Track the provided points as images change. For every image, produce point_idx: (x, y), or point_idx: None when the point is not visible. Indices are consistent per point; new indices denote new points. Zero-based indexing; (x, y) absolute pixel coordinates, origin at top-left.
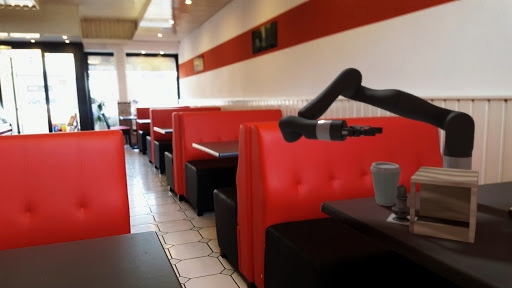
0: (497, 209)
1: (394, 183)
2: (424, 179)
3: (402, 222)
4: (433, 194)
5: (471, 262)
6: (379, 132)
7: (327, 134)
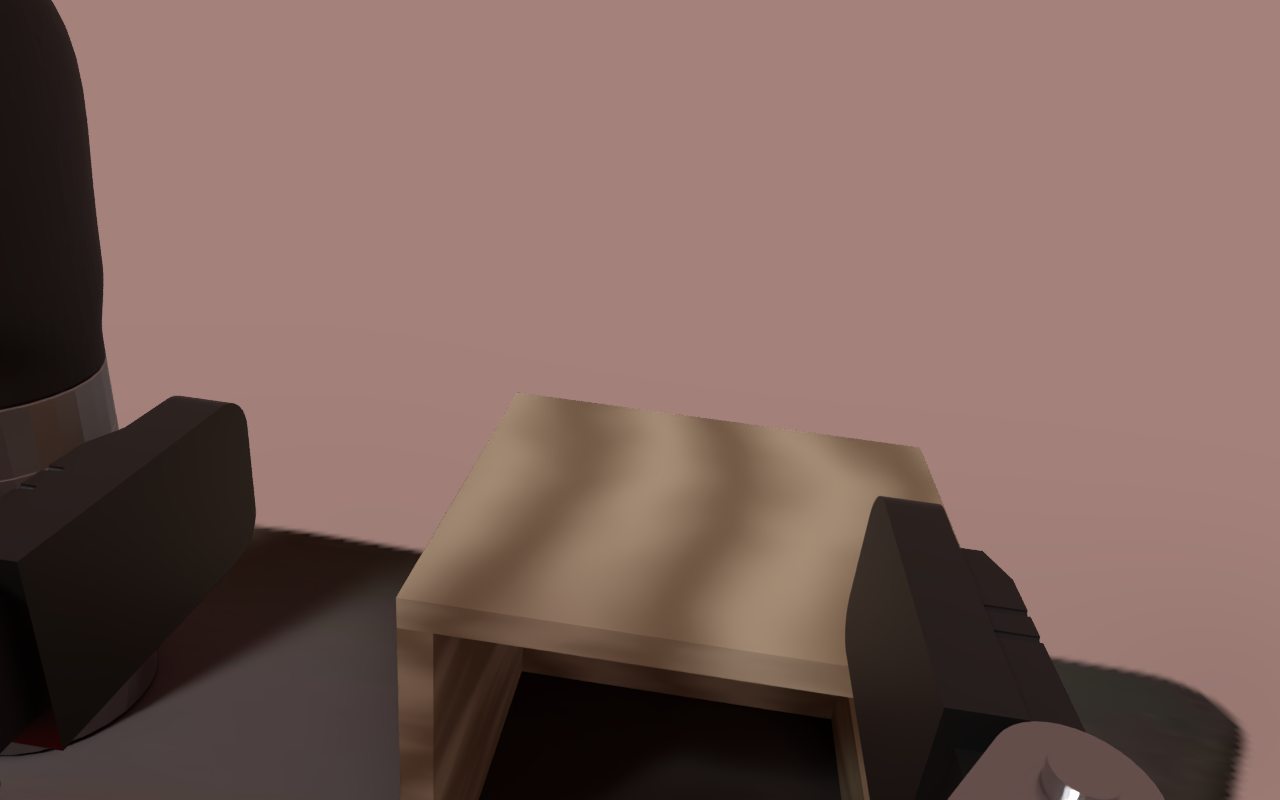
0: (252, 550)
1: None
2: None
3: None
4: (465, 715)
5: None
6: (221, 549)
7: None
